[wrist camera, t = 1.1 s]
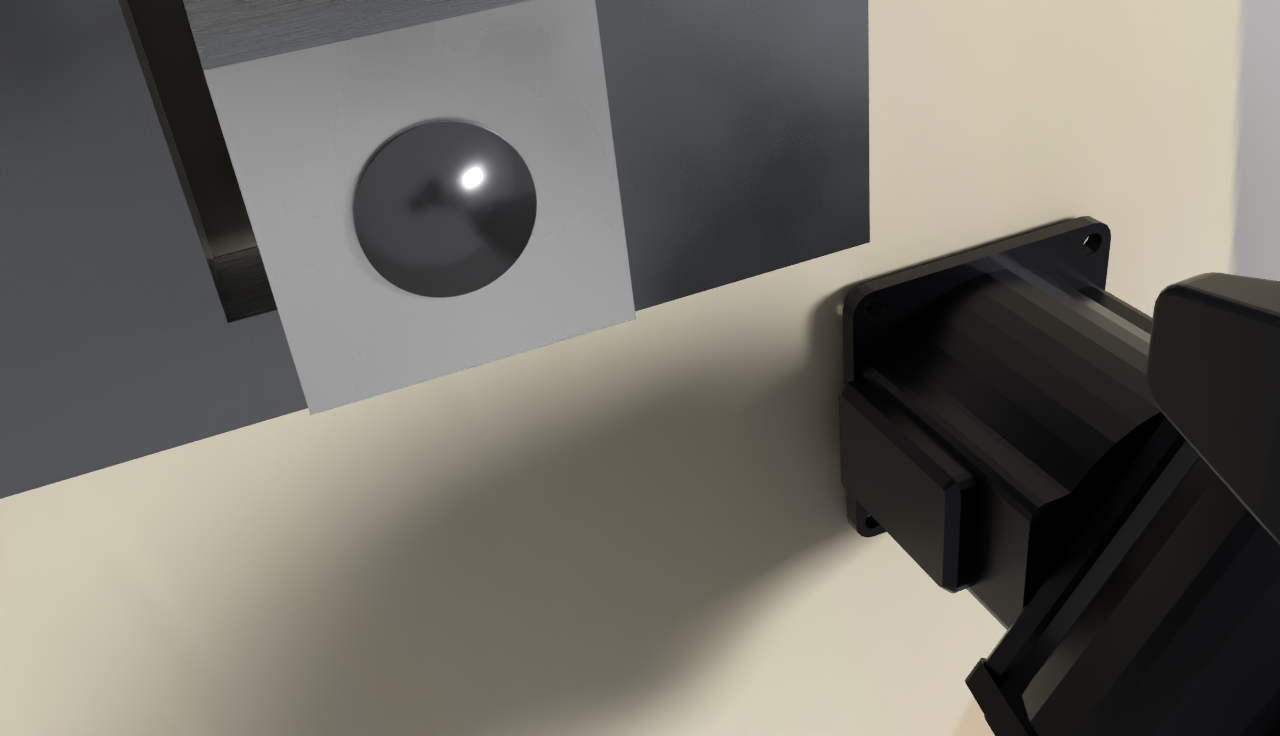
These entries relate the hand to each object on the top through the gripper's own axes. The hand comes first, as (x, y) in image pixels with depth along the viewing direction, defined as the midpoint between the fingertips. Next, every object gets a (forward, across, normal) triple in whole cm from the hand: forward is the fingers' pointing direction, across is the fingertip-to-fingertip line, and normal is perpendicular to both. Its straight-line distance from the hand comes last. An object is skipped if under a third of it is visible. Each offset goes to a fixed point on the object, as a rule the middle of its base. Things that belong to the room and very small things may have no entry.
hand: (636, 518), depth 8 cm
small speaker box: (+13, 0, 0) cm, 13 cm away
